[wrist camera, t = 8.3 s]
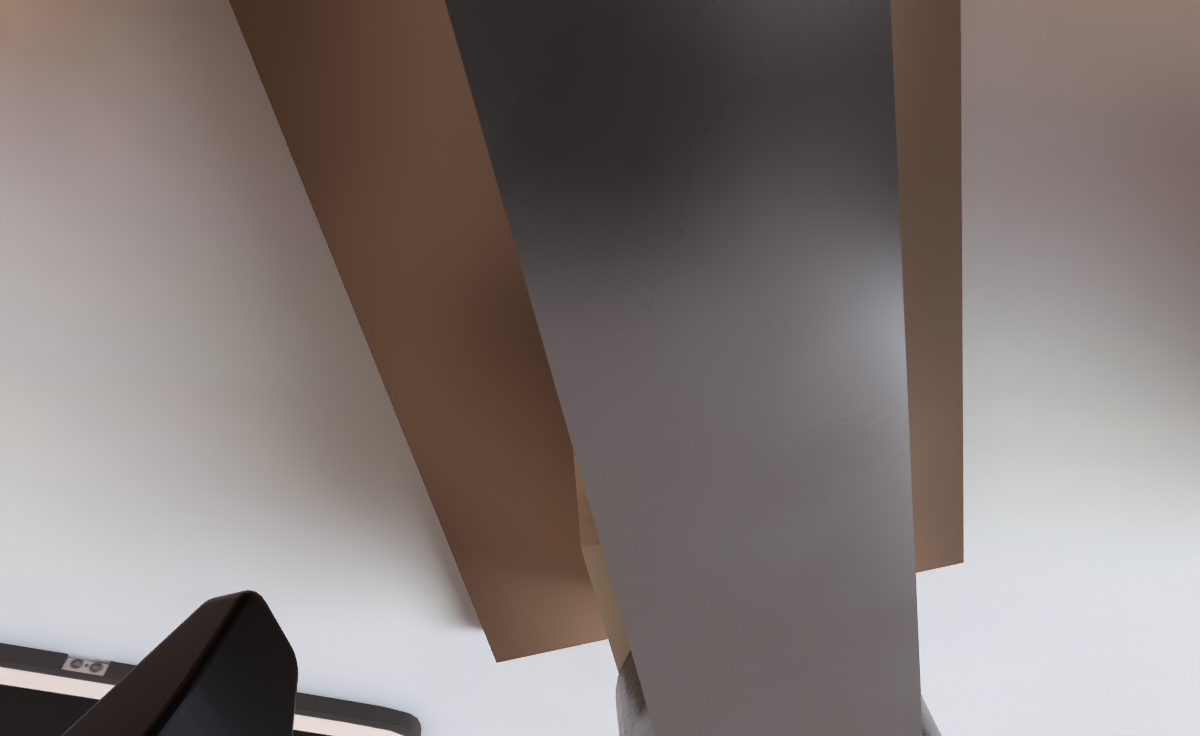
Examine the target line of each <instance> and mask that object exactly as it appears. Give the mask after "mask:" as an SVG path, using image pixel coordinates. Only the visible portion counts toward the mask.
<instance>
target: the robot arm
mask: <svg viewBox="0 0 1200 736" xmlns="http://www.w3.org/2000/svg"><path fill="white" fill-rule="evenodd" d="M297 682H298V666H297V661H296V657H295V654H294V651H293V649H292V647H291V645H290V643H289V642H288V640H287V638H286V636H285V635H284V633H283V631H282V629H281V628H280V626H279V624H278V622H277V621H276V619H275V617H274V615H273V614H272V612H271V610H270V608H269V607H268V605H267V603H266V602H265V600H264V599H263V597H262V596H261V595H259V594H258V593H257V592H254V591H250V590H246V591H241V592H237V593H233V594H228V595H224V596H219V597H215V598H212V599H210V600H208V601H206V602H205V603H203V604H202V605H201V606H200V607H199V608H198V609H197V610H196V611H195V612H194V613H193V614H191V615H190V616H189V617H188V618H187V619H186V620H185V621H184V622H183V623H182V624H181V625H180V626H179V627H177V628H176V629H175V630H174V631H173V632H172V633H171V634H170V635H169V636H168V637H167V638H166V639H165V640H164V641H162V642H161V643H160V644H159V645H158V646H157V647H156V648H155V649H154V650H153V651H152V652H151V653H150V654H148V655H147V656H146V657H145V658H144V659H143V660H142V661H141V662H140V663H139V664H138V665H137V666H136V667H134V668H133V669H132V670H131V671H130V672H129V673H128V674H127V675H126V676H125V677H124V678H123V679H122V680H121V681H119V682H118V683H117V684H116V685H115V686H114V687H113V688H112V689H111V690H110V691H109V692H108V693H107V694H105V695H104V696H103V697H102V698H101V699H100V700H99V701H98V702H97V703H96V704H95V705H94V706H93V707H92V708H90V709H89V710H88V711H87V712H86V713H85V714H84V715H83V716H82V717H81V718H80V719H79V720H78V721H76V722H75V723H74V724H73V725H72V726H71V727H70V728H69V729H68V730H67V731H66V732H65V733H64V734H62V735H61V736H292V735H293V724H294V714H295V703H296V693H297Z"/></svg>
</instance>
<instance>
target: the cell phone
mask: <svg viewBox="0 0 1200 736" xmlns="http://www.w3.org/2000/svg"><path fill="white" fill-rule="evenodd" d="M134 667H136V665H130V664H124V663H118V662H112V661H111V663H110V664H104V663H98V662H92V661H86V660H80V659H74V658H68V654H64V653H58V652H51V651H45V650H39V649H33V648H27V647H21V646H15V645H9V644H3V643H0V736H61V735H62V734H64V733H65V732H66V731H67V730H68V729H69V728H70V727H71V726H72V725H73V724H74V723H75V722H76V721H78V720H79V719H80V718H81V717H82V716H83V715H84V714H85V713H86V712H87V711H88V710H89V709H90V708H92V707H93V706H94V705H95V704H96V703H97V702H98V701H99V700H100V699H101V698H102V697H103V696H104V695H105V694H107V693H108V692H109V691H110V690H111V689H112V688H113V687H114V686H115V685H116V684H117V683H118V682H119V681H121V680H122V679H123V678H124V677H125V676H126V675H127V674H128V673H129V672H130V671H131V670H132V669H133V668H134ZM292 736H421V725H420V722H419V721H418V719H417V718H416V717H414V716H413V715H411V714H409V713H406V712H402V711H398V710H394V709H390V708H386V707H381V706H376V705H370V704H364V703H358V702H352V701H346V700H340V699H334V698H328V697H322V696H316V695H310V694H304V693H298V692H297V693H296V703H295V714H294V724H293V735H292Z"/></svg>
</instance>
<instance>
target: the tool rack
mask: <svg viewBox="0 0 1200 736" xmlns="http://www.w3.org/2000/svg"><path fill="white" fill-rule="evenodd" d="M229 1H230V4H231V6H232V9H233V11H234V14H235V16H236V18H237V21H238V23H239V26H240V28H241V31H242V33H243V36H244V38H245V41H246V43H247V46H248V48H249V51H250V53H251V56H252V58H253V61H254V63H255V66H256V68H257V70H258V73H259V75H260V78H261V80H262V83H263V85H264V88H265V90H266V93H267V95H268V98H269V100H270V103H271V105H272V108H273V110H274V113H275V115H276V117H277V120H278V122H279V125H280V127H281V130H282V132H283V135H284V137H285V140H286V142H287V145H288V147H289V150H290V152H291V155H292V157H293V160H294V162H295V165H296V167H297V169H298V172H299V174H300V177H301V179H302V182H303V184H304V187H305V189H306V192H307V194H308V197H309V199H310V202H311V204H312V207H313V209H314V212H315V214H316V217H317V219H318V221H319V224H320V226H321V229H322V231H323V234H324V236H325V239H326V241H327V244H328V246H329V249H330V251H331V254H332V256H333V259H334V261H335V264H336V266H337V268H338V271H339V273H340V276H341V278H342V281H343V283H344V286H345V288H346V291H347V293H348V296H349V298H350V301H351V303H352V306H353V308H354V311H355V313H356V316H357V318H358V320H359V323H360V325H361V328H362V330H363V333H364V335H365V338H366V340H367V343H368V345H369V348H370V350H371V353H372V355H373V358H374V360H375V363H376V365H377V368H378V370H379V372H380V375H381V377H382V380H383V382H384V385H385V387H386V390H387V392H388V395H389V397H390V400H391V402H392V405H393V407H394V410H395V412H396V415H397V417H398V420H399V422H400V424H401V427H402V429H403V432H404V434H405V437H406V439H407V442H408V444H409V447H410V449H411V452H412V454H413V457H414V459H415V462H416V464H417V467H418V469H419V471H420V474H421V476H422V479H423V481H424V484H425V486H426V489H427V491H428V494H429V496H430V499H431V501H432V504H433V506H434V509H435V511H436V514H437V516H438V519H439V521H440V523H441V526H442V528H443V531H444V533H445V536H446V538H447V541H448V543H449V546H450V548H451V551H452V553H453V556H454V558H455V561H456V563H457V566H458V568H459V571H460V573H461V575H462V578H463V580H464V583H465V585H466V588H467V590H468V593H469V595H470V598H471V600H472V603H473V605H474V608H475V610H476V613H477V615H478V618H479V620H480V622H481V625H482V627H483V630H484V632H485V635H486V637H487V640H488V642H489V645H490V647H491V650H492V652H493V655H494V657H495V660H496V662H502V661H507V660H511V659H516V658H521V657H525V656H530V655H535V654H539V653H544V652H549V651H553V650H558V649H563V648H567V647H572V646H577V645H581V644H586V643H591V642H595V641H600V640H604V639H609V642H610V646H611V649H612V652H613V656H614V659H615V662H616V665H617V669H618V672H619V673H620V670H621V667H622V665H623V663H624V661H625V659H626V657H627V655H628V654H629V652H630V650H631V649H630V645H629V642H628V638H627V635H626V631H625V628H624V624H623V621H622V617H621V614H620V610H619V607H618V603H617V600H616V596H615V593H614V589H613V586H612V582H611V579H610V576H609V572H608V569H607V565H606V562H605V558H604V555H603V551H602V548H601V544H600V541H599V537H598V534H597V530H596V527H595V523H594V520H593V516H592V513H591V509H590V506H589V502H588V499H587V495H586V492H585V488H584V485H583V481H582V478H581V474H580V471H579V467H578V464H577V460H576V457H575V453H574V450H573V446H572V443H571V439H570V436H569V432H568V429H567V425H566V422H565V418H564V415H563V411H562V408H561V404H560V401H559V397H558V394H557V391H556V387H555V384H554V380H553V377H552V373H551V370H550V366H549V363H548V359H547V356H546V352H545V349H544V345H543V342H542V338H541V335H540V331H539V328H538V324H537V321H536V317H535V314H534V310H533V307H532V303H531V300H530V296H529V293H528V289H527V286H526V282H525V279H524V275H523V272H522V268H521V265H520V261H519V258H518V254H517V251H516V247H515V244H514V240H513V237H512V233H511V230H510V226H509V223H508V219H507V216H506V213H505V209H504V206H503V202H502V199H501V195H500V192H499V188H498V185H497V181H496V178H495V174H494V171H493V167H492V164H491V160H490V157H489V153H488V150H487V146H486V143H485V139H484V136H483V132H482V129H481V125H480V122H479V118H478V115H477V111H476V108H475V104H474V101H473V97H472V94H471V90H470V87H469V83H468V80H467V76H466V73H465V69H464V66H463V62H462V59H461V55H460V52H459V48H458V45H457V41H456V38H455V34H454V31H453V28H452V24H451V21H450V17H449V14H448V10H447V7H446V3H445V0H229ZM890 2H891V25H892V47H893V70H894V93H895V116H896V139H897V162H898V185H899V208H900V231H901V253H902V276H903V299H904V322H905V345H906V368H907V391H908V414H909V437H910V459H911V482H912V505H913V528H914V551H915V573H917V572H921V571H926V570H931V569H935V568H940V567H945V566H949V565H954V564H959V563H963V386H962V209H961V32H960V0H890Z"/></svg>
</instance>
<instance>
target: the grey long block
mask: <svg viewBox="0 0 1200 736" xmlns="http://www.w3.org/2000/svg"><path fill="white" fill-rule="evenodd" d="M445 3H446V7H447V10H448V14H449V17H450V21H451V24H452V28H453V31H454V34H455V38H456V41H457V45H458V48H459V52H460V55H461V59H462V62H463V66H464V69H465V73H466V76H467V80H468V83H469V87H470V90H471V94H472V97H473V101H474V104H475V108H476V111H477V115H478V118H479V122H480V125H481V129H482V132H483V136H484V139H485V143H486V146H487V150H488V153H489V157H490V160H491V164H492V167H493V171H494V174H495V178H496V181H497V185H498V188H499V192H500V195H501V199H502V202H503V206H504V209H505V213H506V216H507V219H508V223H509V226H510V230H511V233H512V237H513V240H514V244H515V247H516V251H517V254H518V258H519V261H520V265H521V268H522V272H523V275H524V279H525V282H526V286H527V289H528V293H529V296H530V300H531V303H532V307H533V310H534V314H535V317H536V321H537V324H538V328H539V331H540V335H541V338H542V342H543V345H544V349H545V352H546V356H547V359H548V363H549V366H550V370H551V373H552V377H553V380H554V384H555V387H556V391H557V394H558V397H559V401H560V404H561V408H562V411H563V415H564V418H565V422H566V425H567V429H568V432H569V436H570V439H571V443H572V446H573V450H574V453H575V457H576V460H577V464H578V467H579V471H580V474H581V478H582V481H583V485H584V488H585V492H586V495H587V499H588V502H589V506H590V509H591V513H592V516H593V520H594V523H595V527H596V530H597V534H598V537H599V541H600V544H601V548H602V551H603V555H604V558H605V562H606V565H607V569H608V572H609V576H610V579H611V582H612V586H613V589H614V593H615V596H616V600H617V603H618V607H619V610H620V614H621V617H622V621H623V624H624V628H625V631H626V635H627V638H628V642H629V645H630V649H631V650H630V652H629V654H628V655H627V657H626V659H625V661H624V663H623V665H622V667H621V670H620V673H619V676H618V680H617V686H616V708H617V717H618V727H619V736H941V734H940V732H939V730H938V728H937V726H936V724H935V722H934V720H933V718H932V716H931V714H930V712H929V710H928V708H927V706H926V704H925V702H924V700H923V698H922V696H921V688H920V666H919V643H918V620H917V597H916V574H915V551H914V528H913V505H912V482H911V459H910V437H909V414H908V391H907V368H906V345H905V322H904V299H903V276H902V253H901V231H900V208H899V185H898V162H897V139H896V116H895V93H894V70H893V47H892V25H891V2H890V0H445Z"/></svg>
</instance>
